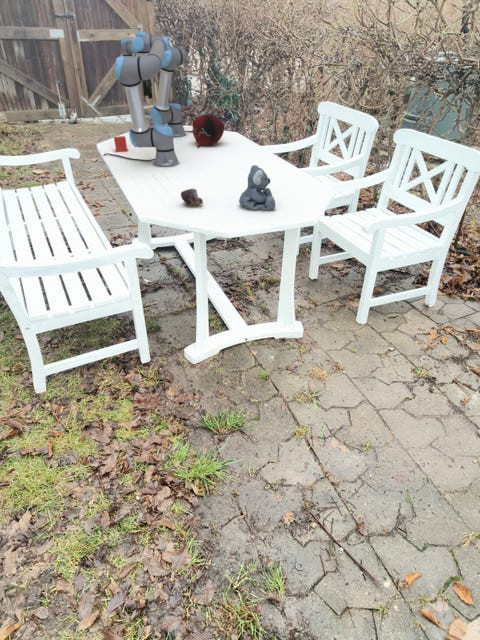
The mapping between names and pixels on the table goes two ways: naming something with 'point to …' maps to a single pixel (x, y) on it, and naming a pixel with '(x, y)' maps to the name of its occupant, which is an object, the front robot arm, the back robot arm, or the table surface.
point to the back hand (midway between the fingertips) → (132, 92)
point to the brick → (120, 143)
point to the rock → (191, 197)
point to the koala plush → (257, 191)
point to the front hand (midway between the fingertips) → (148, 97)
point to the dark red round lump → (207, 129)
